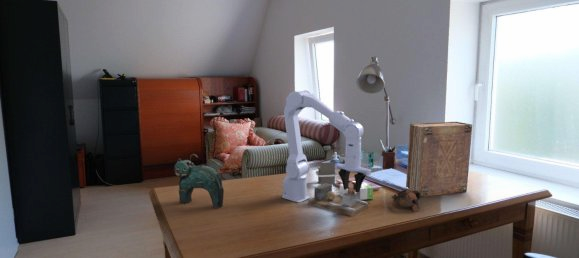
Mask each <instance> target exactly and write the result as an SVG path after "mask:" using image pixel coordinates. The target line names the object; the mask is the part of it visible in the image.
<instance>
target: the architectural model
mask: <svg viewBox="0 0 579 258" xmlns="http://www.w3.org/2000/svg"><path fill="white" fill-rule="evenodd" d="M335 164H336V161H334V160H333V159H331V162H320V163H319V165H320V166H319V167H317V168H318V170H316V171H315V174H316V176H317V182H318V183H320V185H322V184H325V183H328V184H332V186H334V185H335V184H336V183H335V182H336V177H338V176H339V174H338V173H337V172H336V169H335Z"/></svg>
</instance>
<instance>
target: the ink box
mask: <svg viewBox="0 0 579 258" xmlns="http://www.w3.org/2000/svg"><path fill="white" fill-rule="evenodd" d="M347 192H348V189H346V190H344V187H343V183H340V184H339V192H338V193H339V195H338V196H340V197H342V196H343V194H345V193H347ZM373 199H374V187H373V186H371V185H370V184H369V183H366V182H364V181H363V182H362V185H361V188H360V200H361V201H364V200H373Z"/></svg>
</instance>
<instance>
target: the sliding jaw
mask: <svg viewBox="0 0 579 258" xmlns="http://www.w3.org/2000/svg"><path fill="white" fill-rule="evenodd" d="M358 204H360V192H355V179H349V181H348V192H347V193H345V194H343V199H342V206H345V207H349V208H352V207H354V206H356V205H358Z"/></svg>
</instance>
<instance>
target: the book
mask: <svg viewBox="0 0 579 258" xmlns="http://www.w3.org/2000/svg"><path fill="white" fill-rule="evenodd" d="M472 132H473V124H470V123H465V122H459V121H446V122H445V121H443V122H420V123H418V122H417V123H410V124H409V136H408V150H407V151H408V153H407V154H408V155H407V164H406V183H405V188H406V187H408V188H409V189H410V192H413V191H415V190H417V191H419V192H420V194H421V198H426V197H433V196H440V195H449V194H450V195H451V194H459V193H465V192H467V191H468V182H469V180H468V179H469V168H470V158H471V157H470V156H471V145H472Z"/></svg>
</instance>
